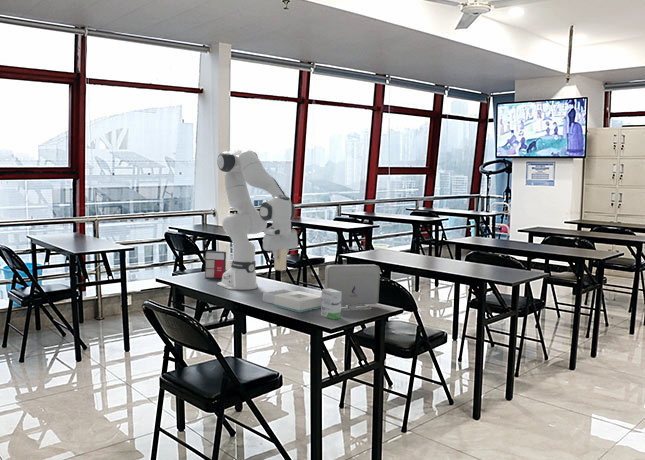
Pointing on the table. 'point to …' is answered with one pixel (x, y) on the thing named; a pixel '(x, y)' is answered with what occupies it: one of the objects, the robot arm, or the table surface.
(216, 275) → the red and grey box
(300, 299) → the block
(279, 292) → the holster
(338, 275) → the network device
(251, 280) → the robot arm
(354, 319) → the table surface
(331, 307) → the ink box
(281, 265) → the plug
